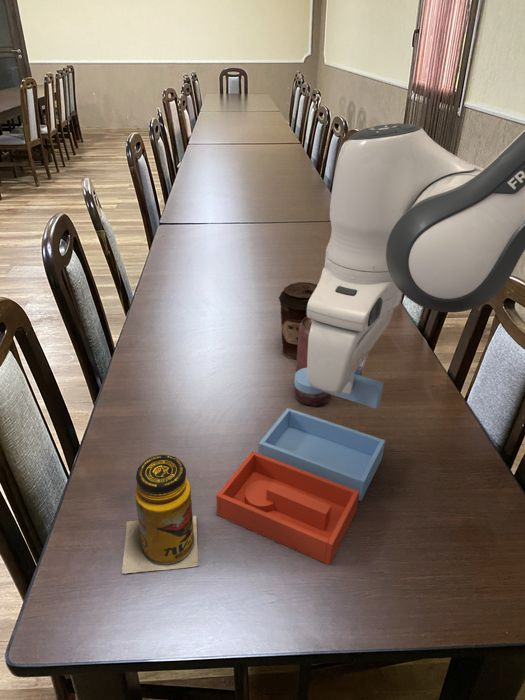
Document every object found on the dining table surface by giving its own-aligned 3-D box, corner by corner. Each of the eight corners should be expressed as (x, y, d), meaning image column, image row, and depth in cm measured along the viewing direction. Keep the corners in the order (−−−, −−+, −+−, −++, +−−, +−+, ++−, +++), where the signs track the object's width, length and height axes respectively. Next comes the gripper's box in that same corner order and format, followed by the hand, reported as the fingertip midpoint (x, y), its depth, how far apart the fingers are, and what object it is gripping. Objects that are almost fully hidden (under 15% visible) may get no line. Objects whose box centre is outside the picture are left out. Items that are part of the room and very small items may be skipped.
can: (291, 405, 87) (295, 330, 80) (298, 383, 93) (303, 311, 85) (328, 411, 86) (336, 335, 79) (333, 389, 91) (341, 316, 84)
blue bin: (382, 458, 77) (385, 440, 75) (361, 501, 70) (364, 481, 68) (286, 425, 83) (287, 407, 81) (258, 462, 76) (258, 443, 74)
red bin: (356, 510, 68) (359, 491, 67) (329, 565, 61) (332, 544, 60) (252, 469, 74) (252, 450, 73) (216, 515, 67) (216, 495, 66)
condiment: (198, 566, 61) (193, 490, 55) (121, 574, 60) (107, 498, 54) (196, 516, 67) (191, 443, 61) (127, 523, 66) (115, 449, 60)
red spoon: (333, 514, 67) (335, 497, 66) (319, 539, 64) (321, 522, 62) (255, 482, 72) (255, 465, 70) (238, 504, 68) (238, 487, 67)
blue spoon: (383, 396, 68) (387, 376, 66) (372, 415, 64) (376, 394, 63) (302, 371, 72) (304, 352, 71) (288, 387, 69) (289, 368, 67)
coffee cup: (325, 363, 98) (332, 299, 92) (281, 365, 97) (284, 300, 91) (315, 339, 106) (320, 278, 99) (273, 341, 105) (276, 280, 98)
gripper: (366, 247, 69) (353, 340, 76) (299, 310, 53) (292, 420, 60) (415, 256, 66) (397, 352, 73) (360, 325, 51) (345, 438, 58)
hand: (349, 383), depth 67 cm, fingers closed on blue spoon
